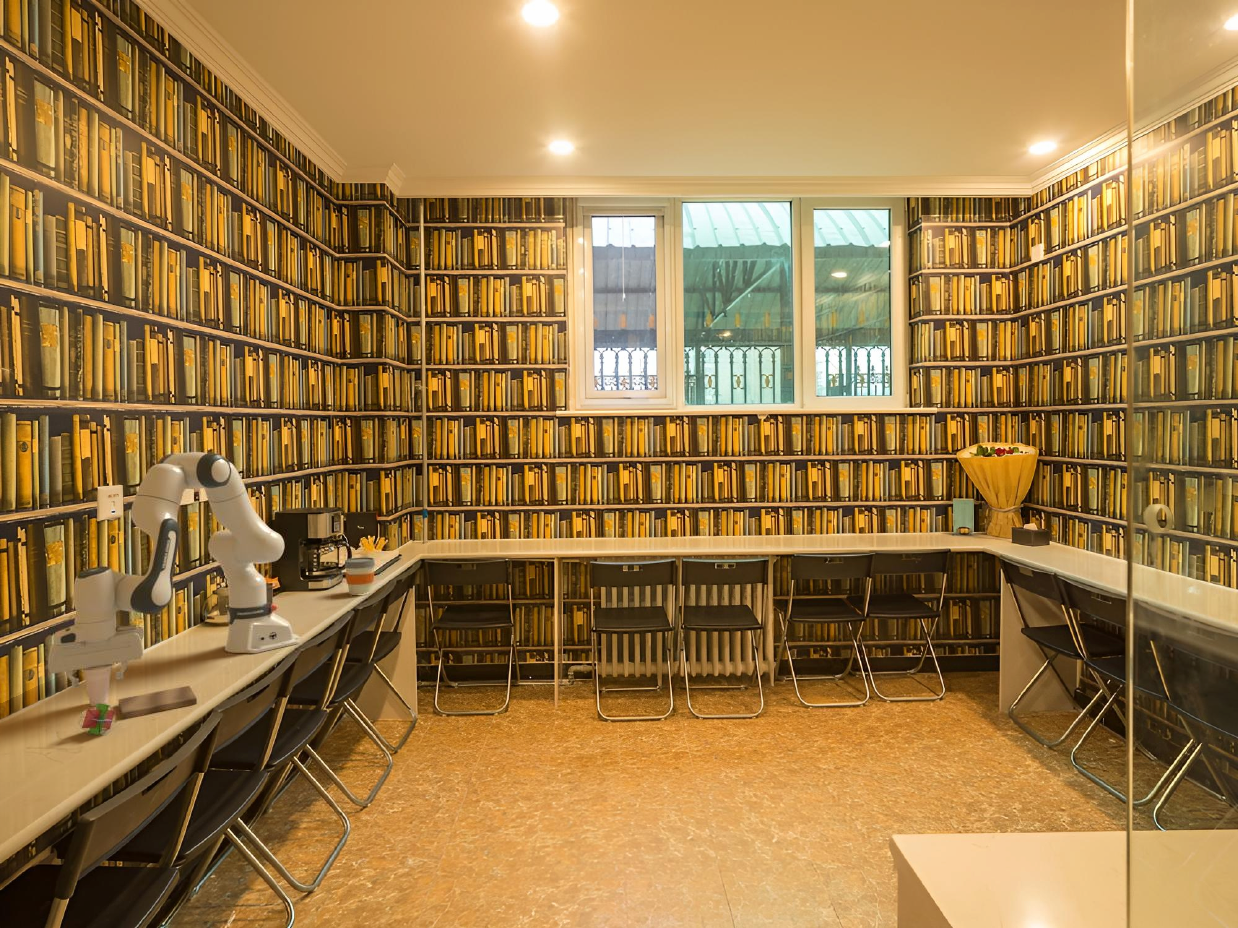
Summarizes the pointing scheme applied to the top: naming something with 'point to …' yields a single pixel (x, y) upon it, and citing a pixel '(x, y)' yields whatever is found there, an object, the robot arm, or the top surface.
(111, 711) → the geometric puzzle
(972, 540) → the top surface
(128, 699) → the serving board
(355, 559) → the reusable coffee cup
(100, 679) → the smoothie
